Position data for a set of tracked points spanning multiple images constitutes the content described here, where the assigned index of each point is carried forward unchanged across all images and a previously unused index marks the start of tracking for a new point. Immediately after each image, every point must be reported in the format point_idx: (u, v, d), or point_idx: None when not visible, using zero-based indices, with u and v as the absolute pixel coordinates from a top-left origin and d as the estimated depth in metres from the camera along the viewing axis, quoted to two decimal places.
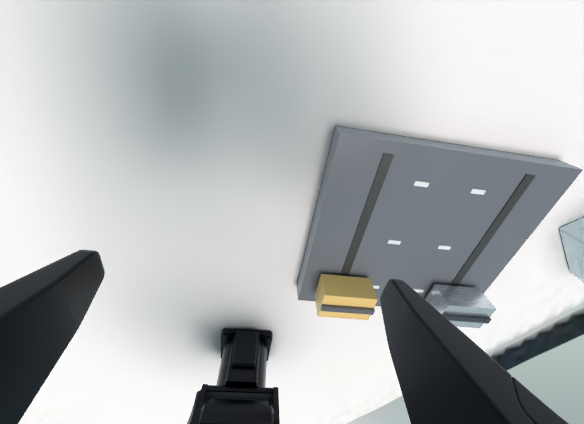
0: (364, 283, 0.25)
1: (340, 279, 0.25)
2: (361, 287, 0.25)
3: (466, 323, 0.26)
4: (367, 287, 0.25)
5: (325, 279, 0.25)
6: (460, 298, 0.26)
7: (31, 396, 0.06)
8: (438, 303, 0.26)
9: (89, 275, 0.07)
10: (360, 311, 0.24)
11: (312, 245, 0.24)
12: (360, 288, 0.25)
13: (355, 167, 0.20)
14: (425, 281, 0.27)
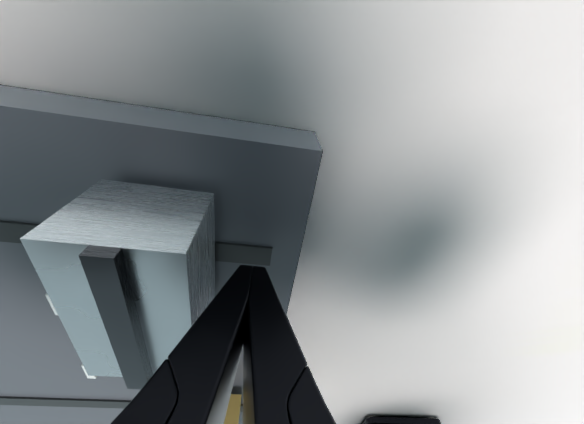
0: None
1: None
2: None
3: (167, 307, 0.06)
4: None
5: None
6: None
7: (228, 403, 0.06)
8: None
9: None
10: None
11: None
12: None
13: None
14: None
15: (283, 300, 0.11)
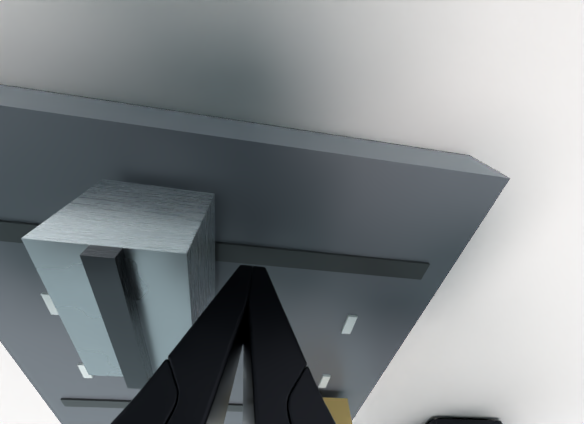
0: None
1: None
2: None
3: (168, 307, 0.06)
4: None
5: None
6: None
7: (228, 403, 0.06)
8: None
9: None
10: None
11: None
12: None
13: (100, 418, 0.16)
14: (321, 318, 0.11)
15: (418, 311, 0.11)
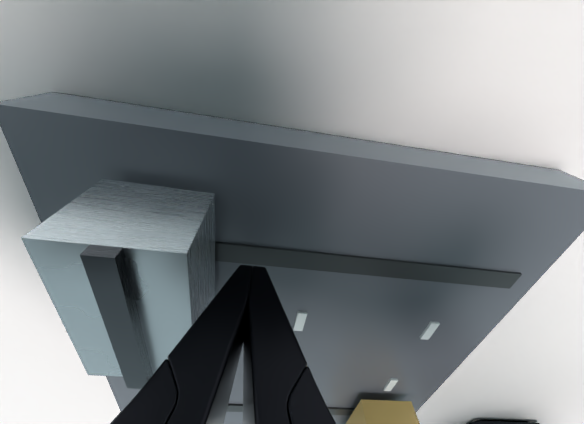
0: (360, 421, 0.14)
1: None
2: None
3: (168, 307, 0.06)
4: None
5: None
6: None
7: None
8: None
9: None
10: None
11: None
12: None
13: None
14: (404, 324, 0.12)
15: (497, 318, 0.12)
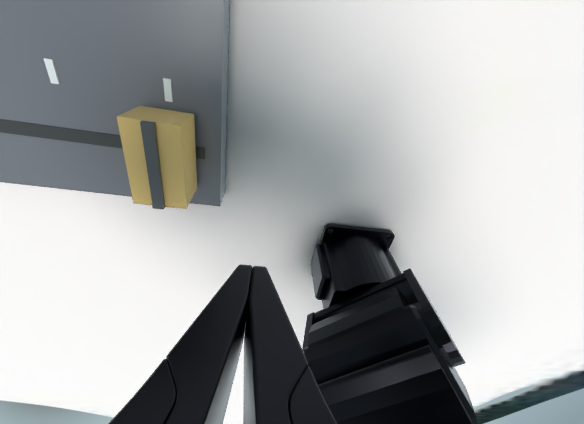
0: None
1: None
2: None
3: None
4: None
5: None
6: None
7: (227, 403, 0.06)
8: None
9: None
10: (149, 148, 0.13)
11: (110, 193, 0.18)
12: None
13: None
14: None
15: None
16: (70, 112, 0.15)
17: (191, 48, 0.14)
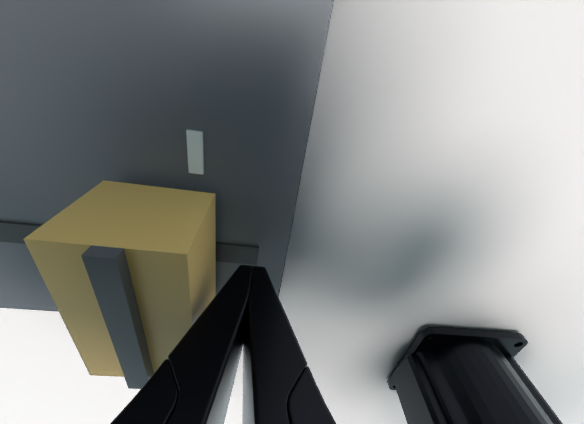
0: None
1: None
2: None
3: None
4: None
5: None
6: None
7: (228, 403, 0.06)
8: None
9: None
10: (111, 302, 0.05)
11: None
12: None
13: None
14: None
15: None
16: (1, 194, 0.08)
17: (252, 68, 0.06)
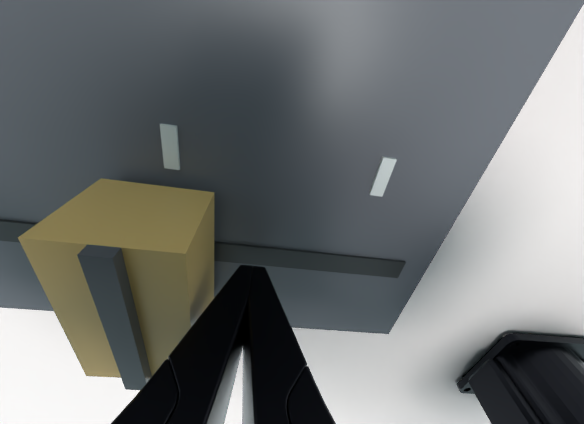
0: None
1: None
2: None
3: None
4: None
5: None
6: None
7: None
8: None
9: None
10: (108, 302, 0.05)
11: None
12: None
13: None
14: None
15: None
16: None
17: (462, 103, 0.07)
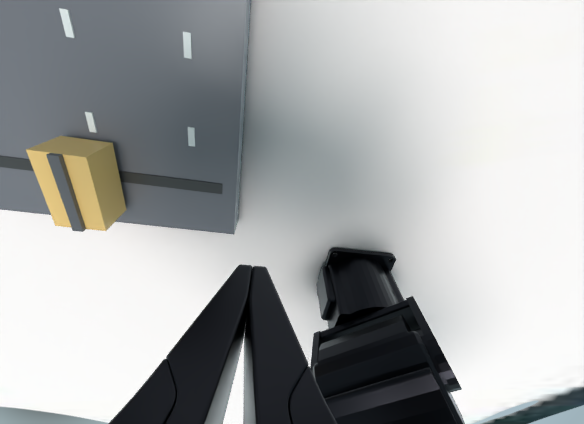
0: None
1: None
2: None
3: None
4: None
5: None
6: None
7: (227, 403, 0.06)
8: None
9: None
10: (59, 177, 0.14)
11: (135, 222, 0.20)
12: None
13: (10, 189, 0.18)
14: (162, 35, 0.14)
15: (240, 30, 0.14)
16: None
17: (213, 102, 0.16)
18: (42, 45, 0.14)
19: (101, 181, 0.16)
